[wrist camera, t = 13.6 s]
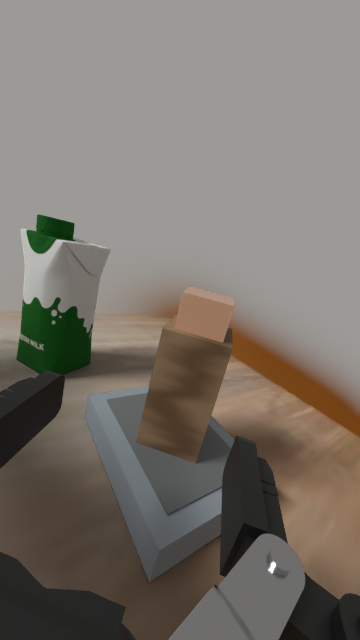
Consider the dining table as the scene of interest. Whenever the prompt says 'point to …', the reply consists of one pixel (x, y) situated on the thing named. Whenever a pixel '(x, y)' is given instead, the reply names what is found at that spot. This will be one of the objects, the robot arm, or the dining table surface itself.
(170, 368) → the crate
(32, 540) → the dining table surface
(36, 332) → the milk carton
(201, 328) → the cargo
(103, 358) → the dining table surface
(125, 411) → the dock
